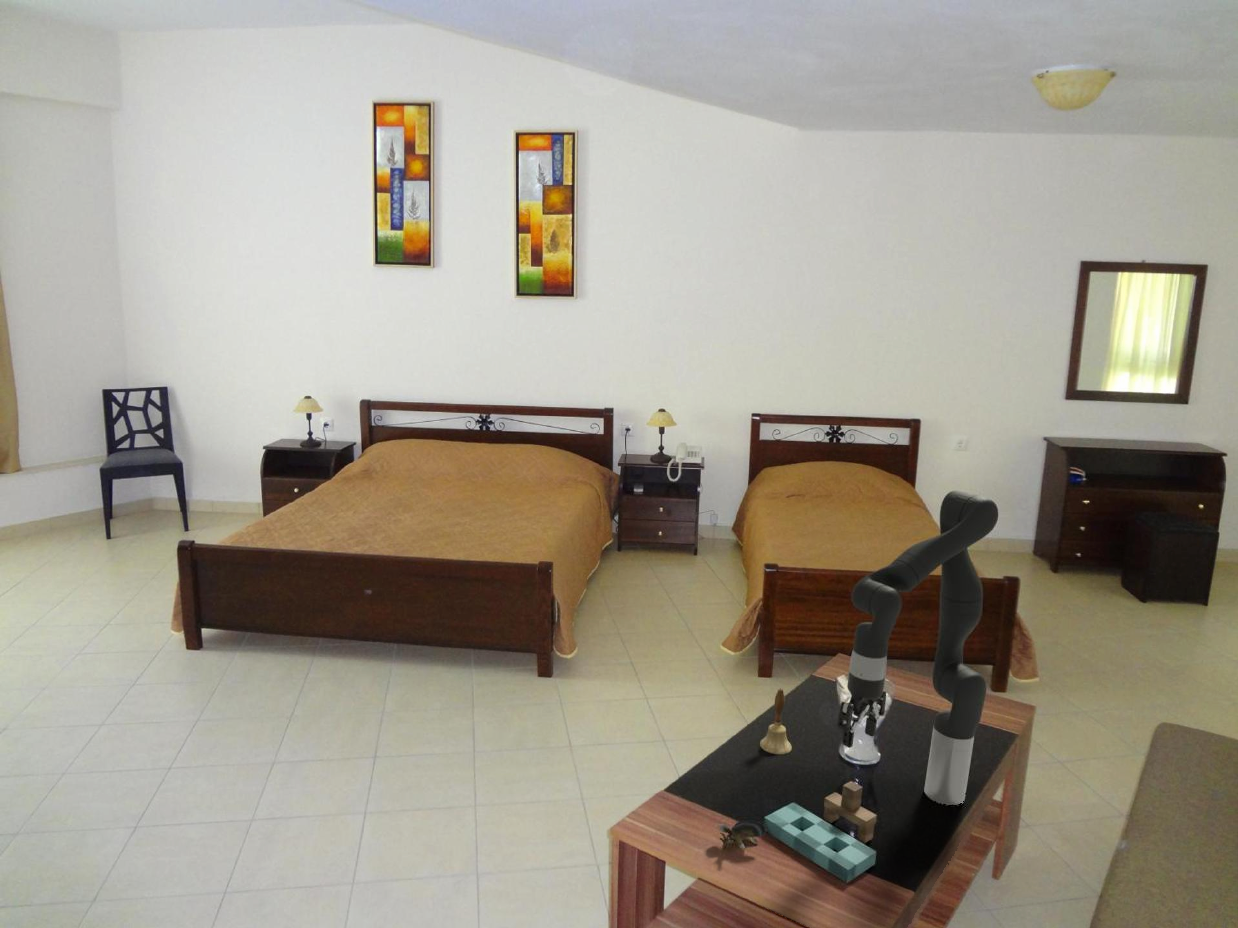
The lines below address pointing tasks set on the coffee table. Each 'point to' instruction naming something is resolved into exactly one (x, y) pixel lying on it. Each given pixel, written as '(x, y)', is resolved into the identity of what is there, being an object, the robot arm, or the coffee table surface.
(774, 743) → the hand bell
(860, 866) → the teal block with holes
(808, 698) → the coffee table surface
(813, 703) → the coffee table surface
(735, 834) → the brown animal figure
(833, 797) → the wooden forked block
